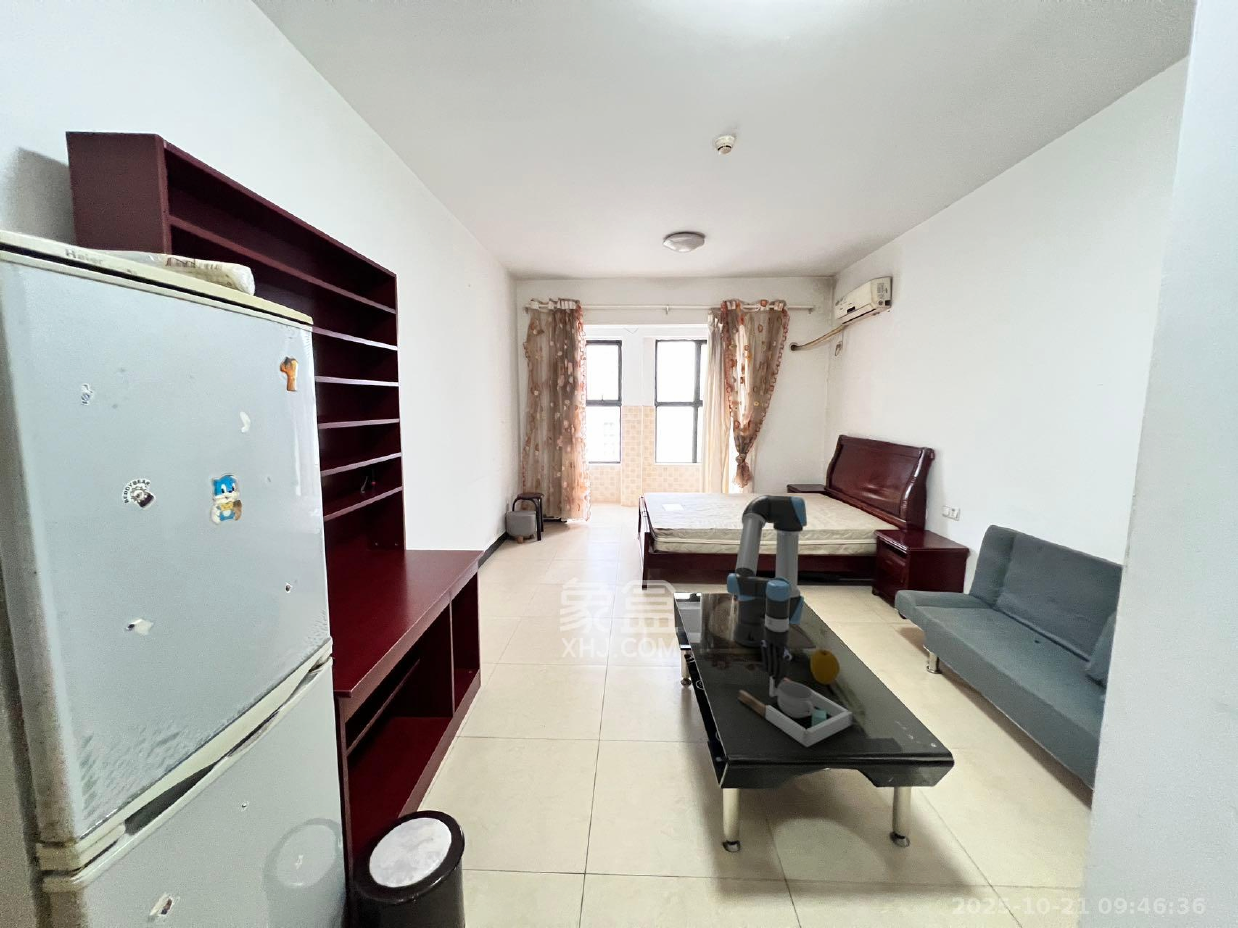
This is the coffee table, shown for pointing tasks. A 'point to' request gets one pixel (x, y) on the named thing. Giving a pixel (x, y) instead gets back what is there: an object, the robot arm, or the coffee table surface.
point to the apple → (824, 666)
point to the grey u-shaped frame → (819, 731)
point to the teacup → (795, 699)
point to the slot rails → (754, 702)
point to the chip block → (818, 717)
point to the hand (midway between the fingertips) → (773, 694)
